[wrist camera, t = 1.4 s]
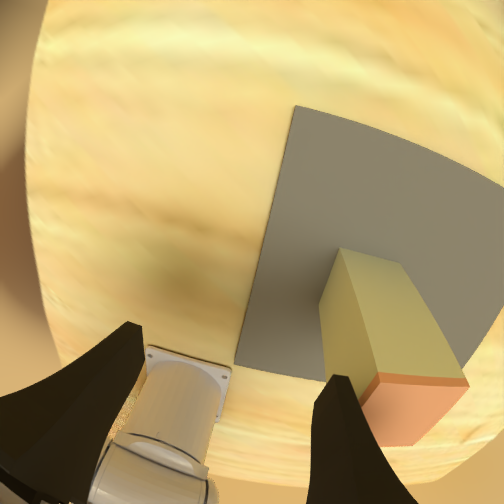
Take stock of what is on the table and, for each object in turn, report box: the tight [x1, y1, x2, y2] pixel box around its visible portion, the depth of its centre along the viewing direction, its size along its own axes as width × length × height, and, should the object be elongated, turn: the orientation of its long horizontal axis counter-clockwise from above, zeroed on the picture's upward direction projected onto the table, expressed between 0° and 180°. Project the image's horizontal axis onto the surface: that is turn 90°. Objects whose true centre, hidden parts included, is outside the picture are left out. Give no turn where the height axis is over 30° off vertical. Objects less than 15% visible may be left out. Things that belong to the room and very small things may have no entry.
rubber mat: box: [234, 105, 504, 382], centre depth 19 cm, size 20×22×1 cm
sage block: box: [319, 247, 470, 447], centre depth 14 cm, size 4×4×11 cm
